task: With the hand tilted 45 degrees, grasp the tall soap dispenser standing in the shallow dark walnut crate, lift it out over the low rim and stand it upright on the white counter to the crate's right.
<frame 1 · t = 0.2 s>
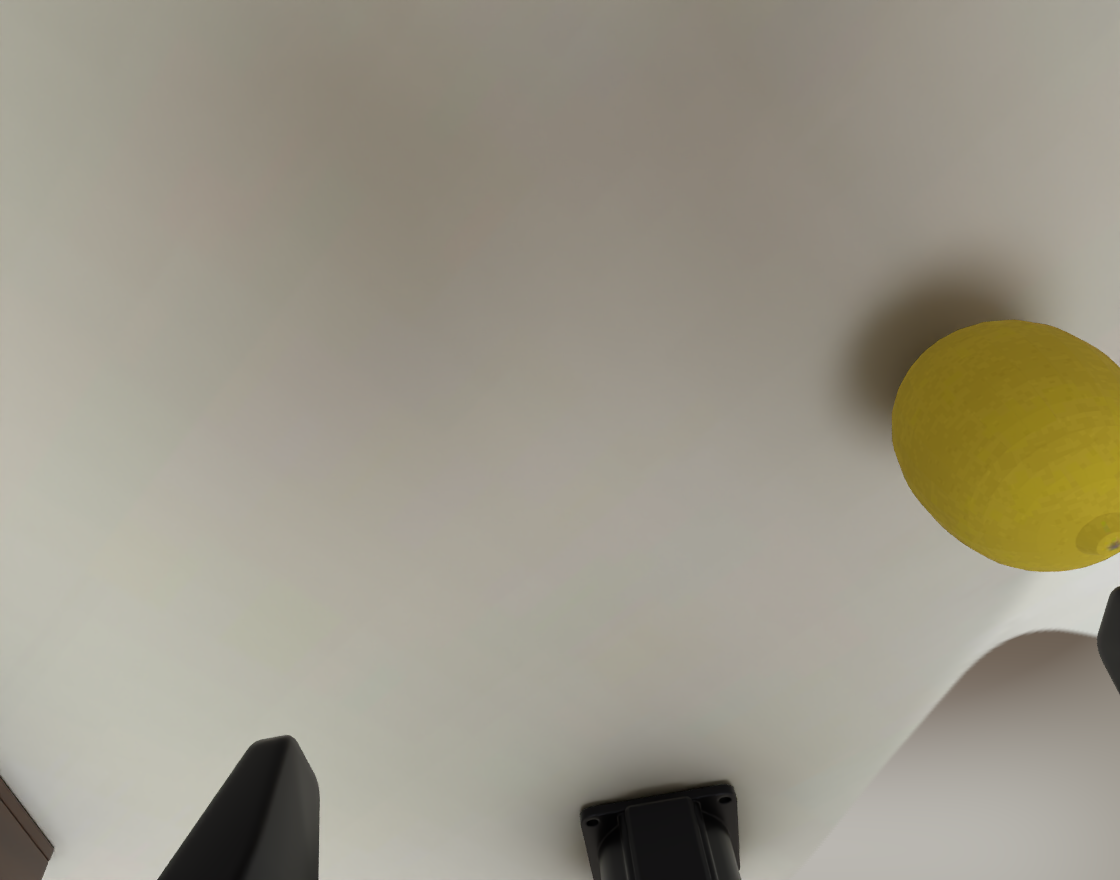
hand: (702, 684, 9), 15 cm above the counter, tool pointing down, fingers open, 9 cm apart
lemon: (941, 357, 25), on the counter
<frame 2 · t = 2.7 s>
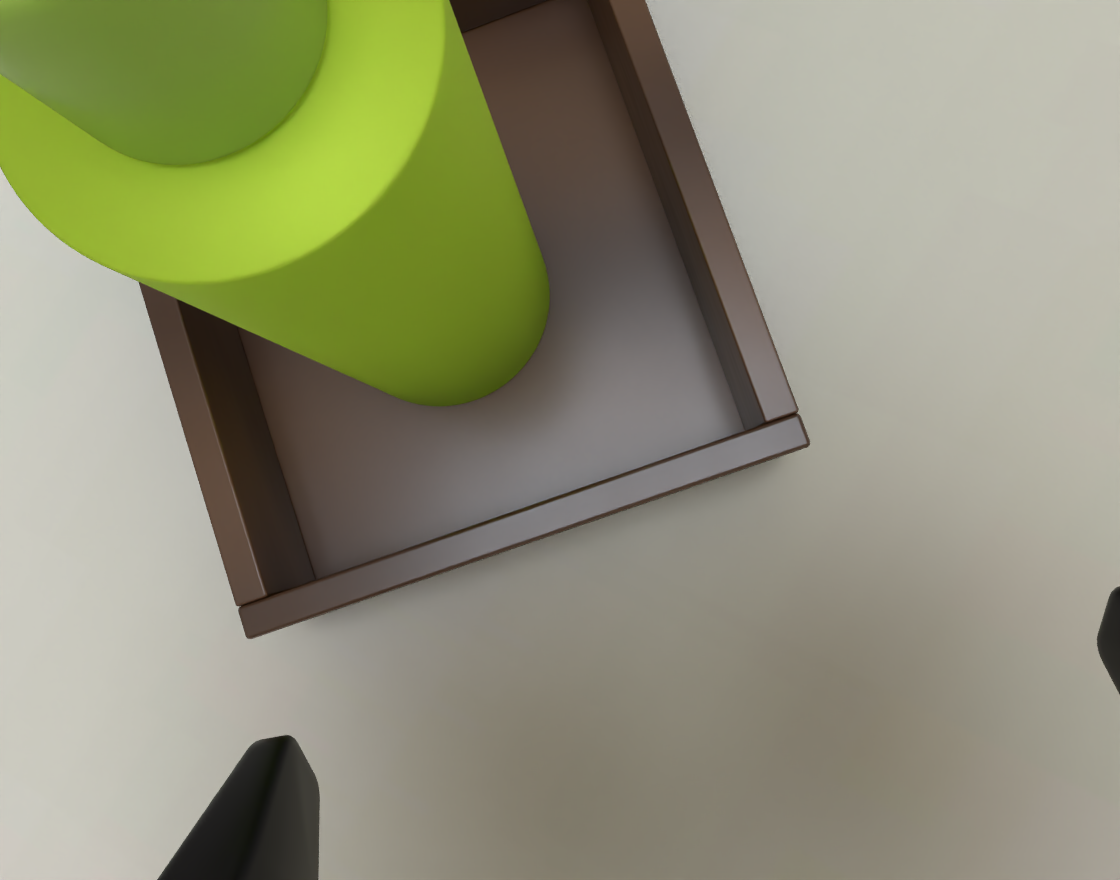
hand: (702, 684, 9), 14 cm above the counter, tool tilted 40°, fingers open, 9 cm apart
crate: (455, 286, 24), on the counter
soap dispenser: (453, 283, 24), resting on crate
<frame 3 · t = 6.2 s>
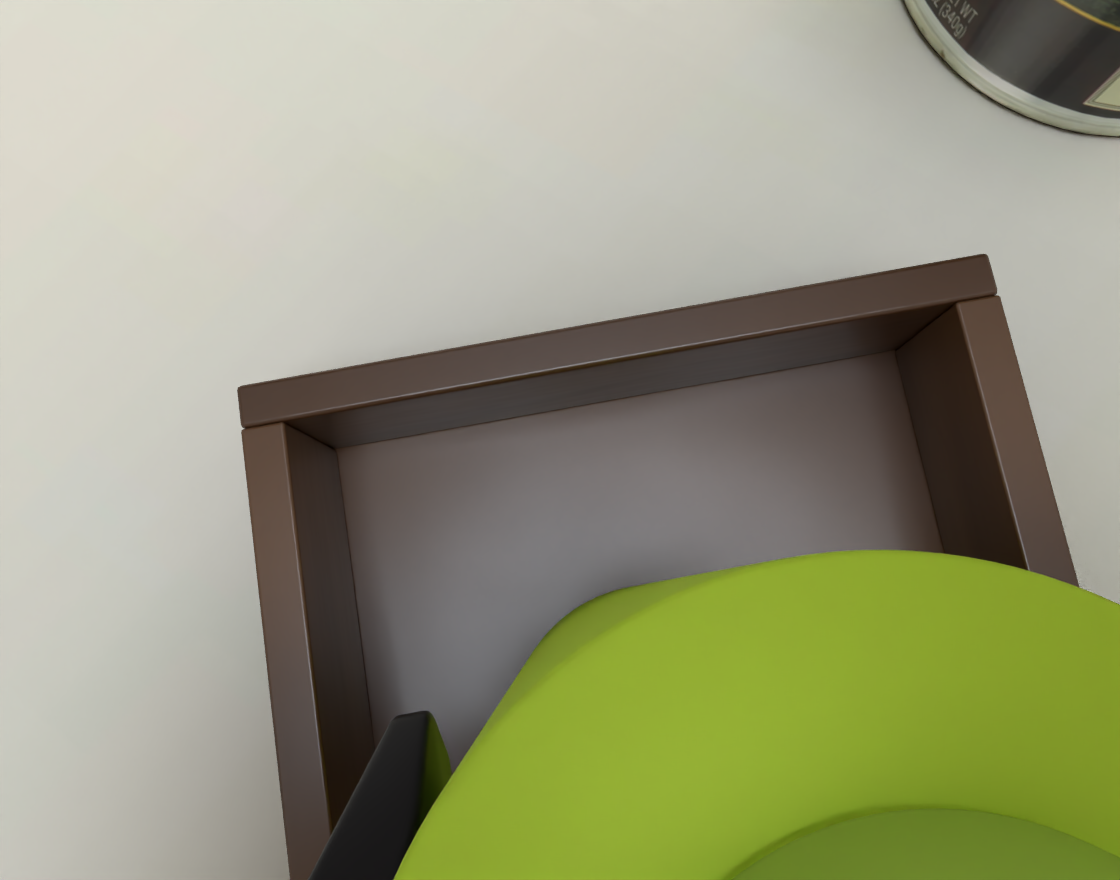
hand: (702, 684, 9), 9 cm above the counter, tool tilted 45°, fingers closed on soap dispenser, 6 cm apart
crate: (671, 710, 18), on the counter
soap dispenser: (672, 713, 17), resting on crate, touching gripper
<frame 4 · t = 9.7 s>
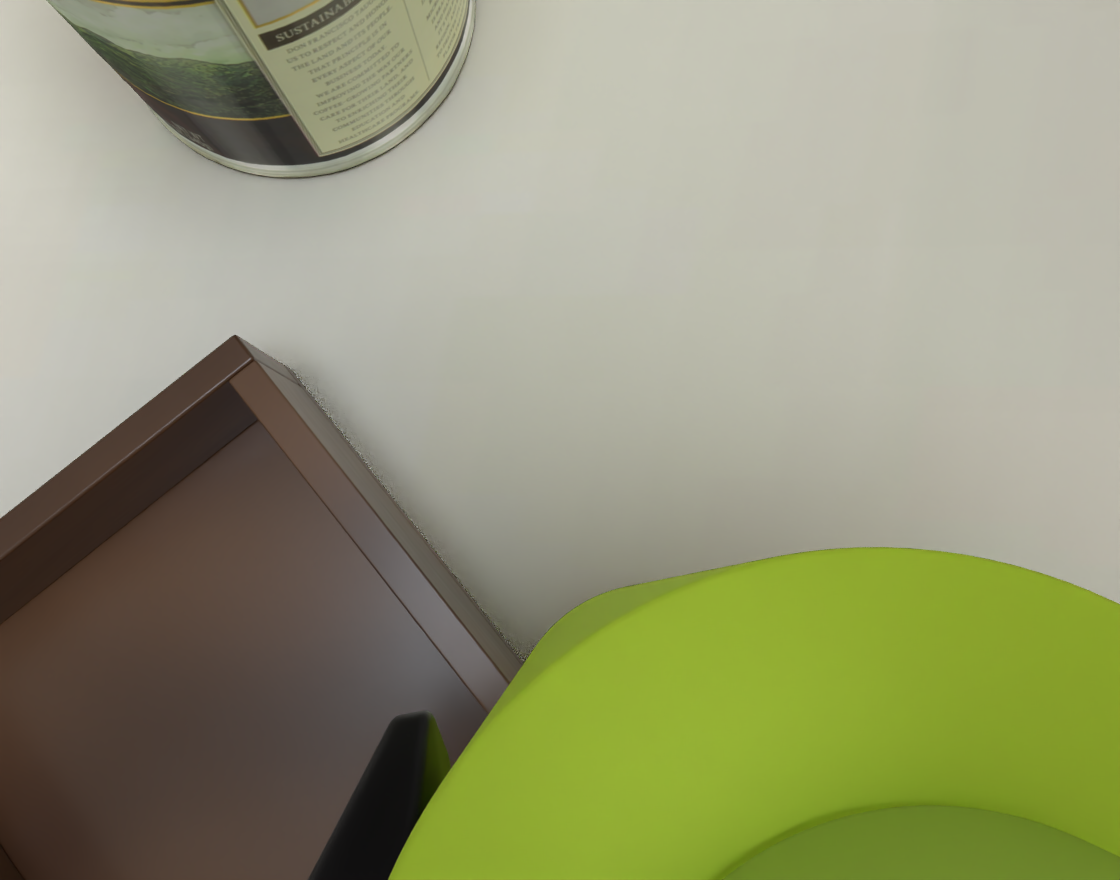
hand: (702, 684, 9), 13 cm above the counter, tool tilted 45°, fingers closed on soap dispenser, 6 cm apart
crate: (249, 748, 22), on the counter
soap dispenser: (671, 712, 17), point 5 cm above the counter, touching gripper
coffee can: (304, 17, 25), on the counter
when the fingers open (8 cm above the counter, at t = 13.1 s): soap dispenser stays where it is, on the counter.
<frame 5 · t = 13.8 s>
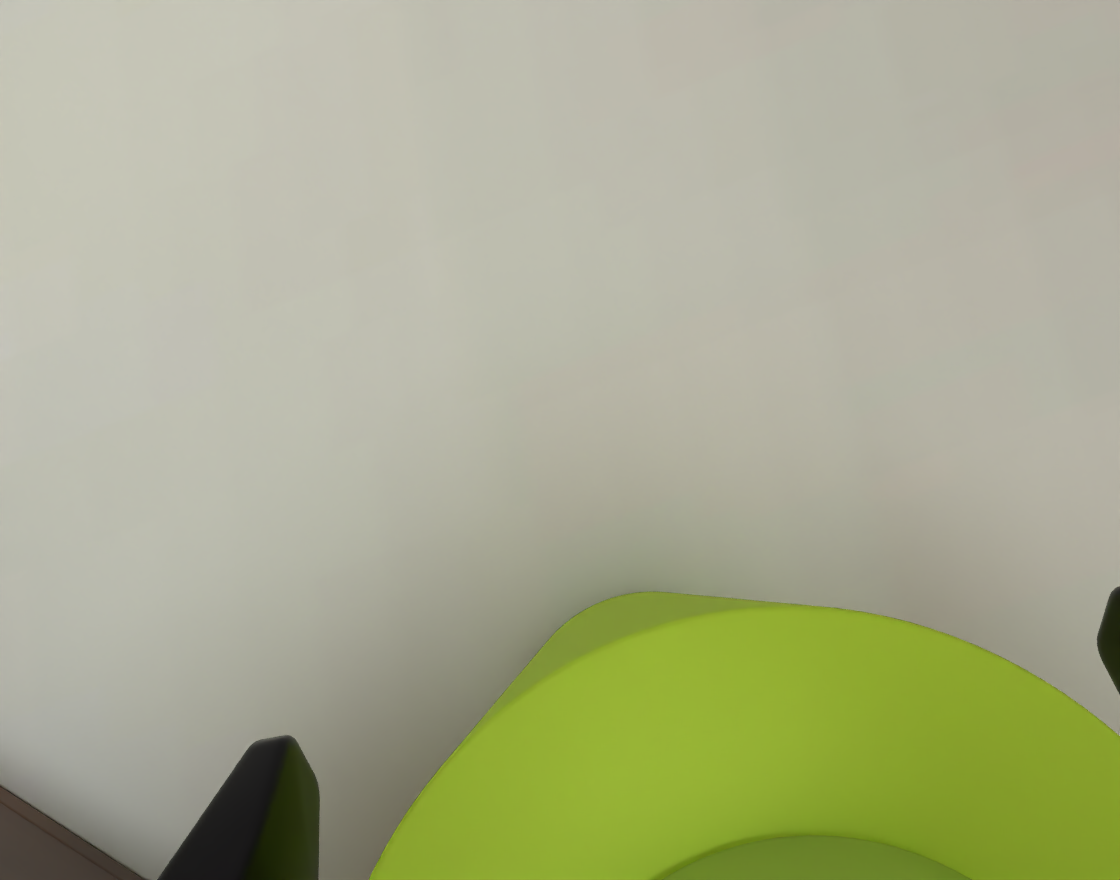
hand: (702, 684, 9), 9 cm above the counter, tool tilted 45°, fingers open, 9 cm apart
soap dispenser: (670, 714, 18), on the counter
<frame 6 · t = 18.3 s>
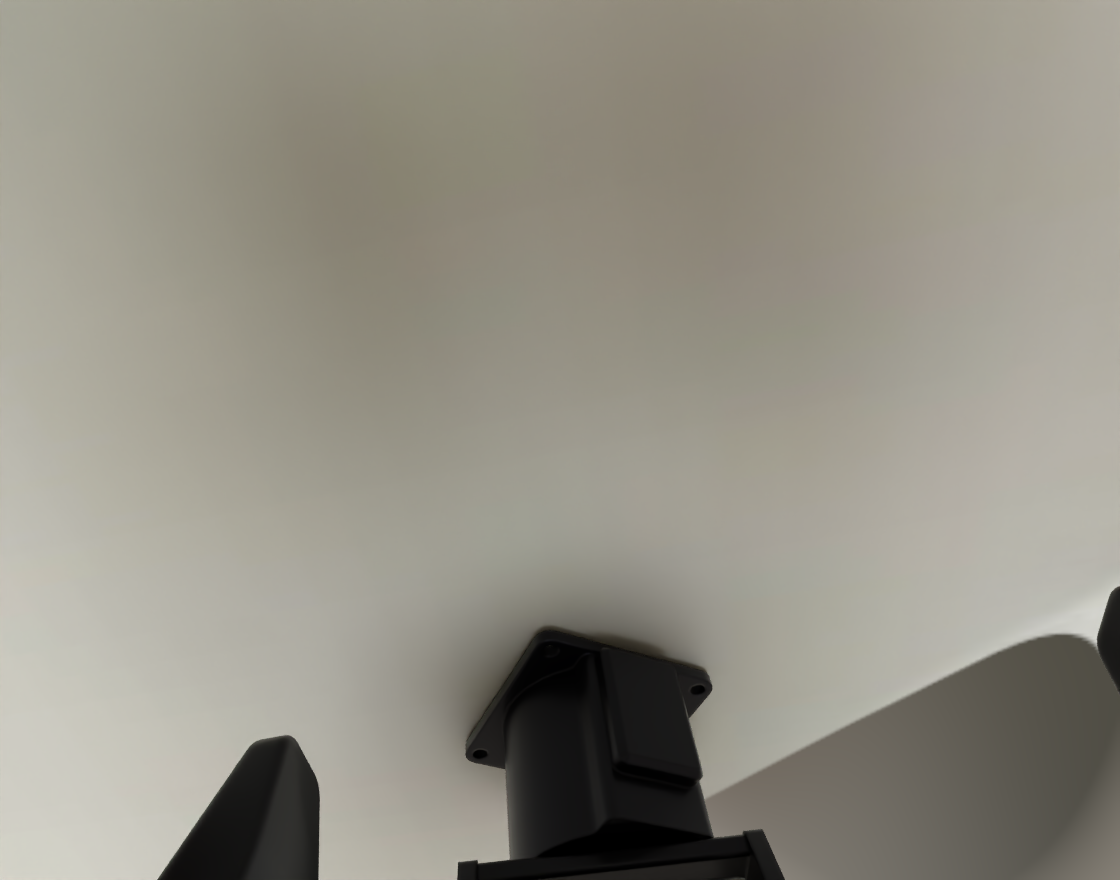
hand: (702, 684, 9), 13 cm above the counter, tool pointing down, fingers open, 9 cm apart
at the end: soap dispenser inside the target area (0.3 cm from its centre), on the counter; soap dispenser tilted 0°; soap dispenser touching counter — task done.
